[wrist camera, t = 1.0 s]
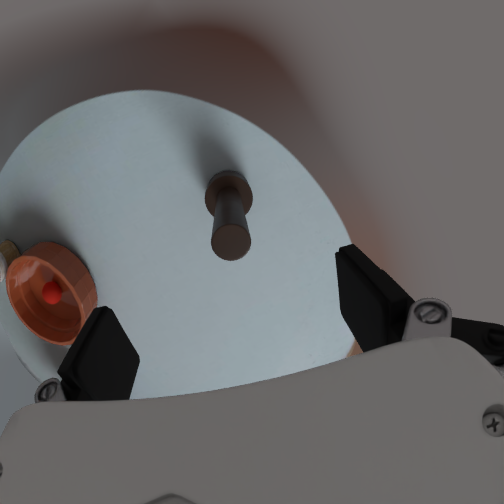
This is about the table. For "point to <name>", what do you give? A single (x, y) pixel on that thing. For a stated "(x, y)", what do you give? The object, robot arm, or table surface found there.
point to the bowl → (32, 302)
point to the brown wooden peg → (229, 214)
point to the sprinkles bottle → (7, 257)
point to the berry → (51, 292)
